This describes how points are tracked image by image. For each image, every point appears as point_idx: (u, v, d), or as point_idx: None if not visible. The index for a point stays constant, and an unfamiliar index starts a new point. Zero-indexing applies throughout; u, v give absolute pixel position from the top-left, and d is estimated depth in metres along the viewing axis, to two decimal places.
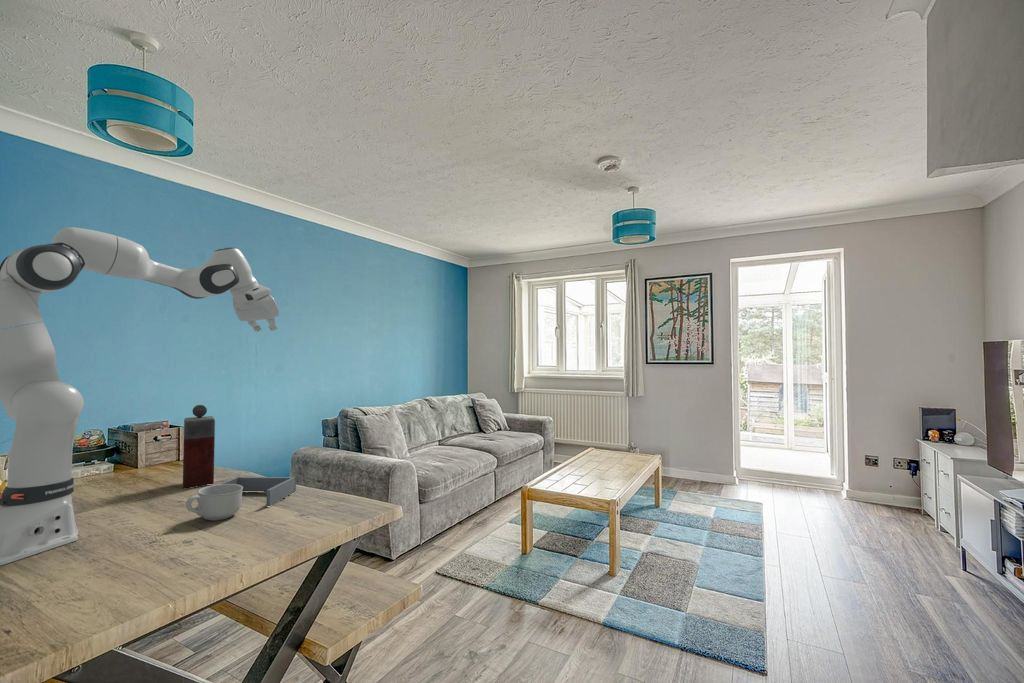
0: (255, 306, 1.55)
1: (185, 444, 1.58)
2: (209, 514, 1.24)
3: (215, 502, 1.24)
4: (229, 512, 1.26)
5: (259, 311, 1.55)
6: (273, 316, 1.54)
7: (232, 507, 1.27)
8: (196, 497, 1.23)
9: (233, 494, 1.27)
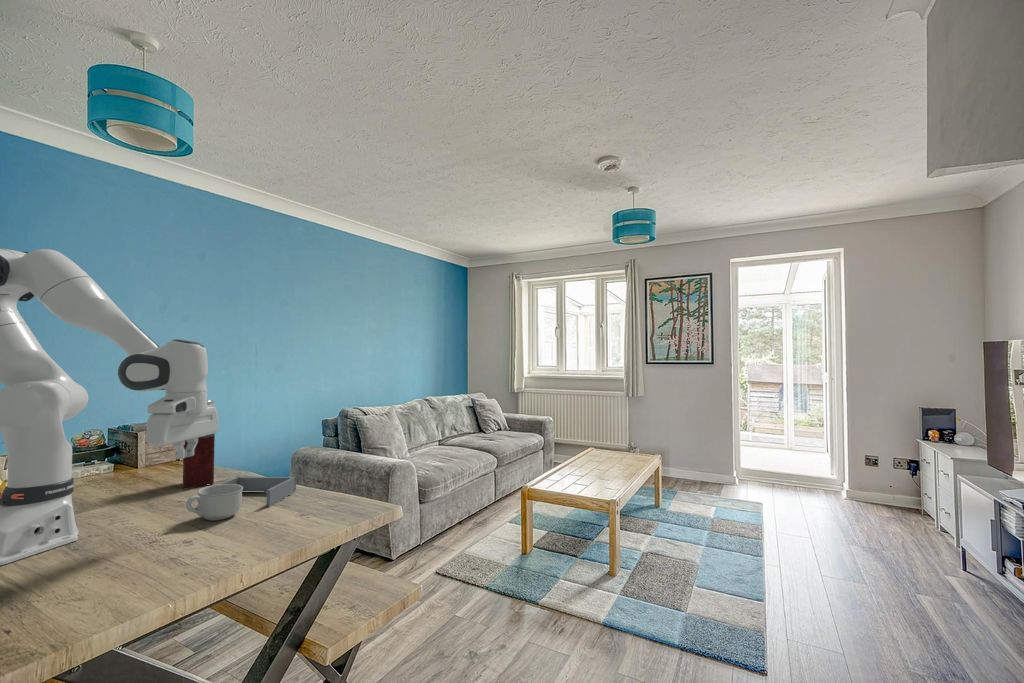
0: None
1: (185, 444, 1.58)
2: (209, 514, 1.24)
3: (215, 502, 1.24)
4: (229, 512, 1.26)
5: None
6: (150, 443, 1.08)
7: (232, 507, 1.27)
8: (196, 497, 1.23)
9: (233, 494, 1.27)
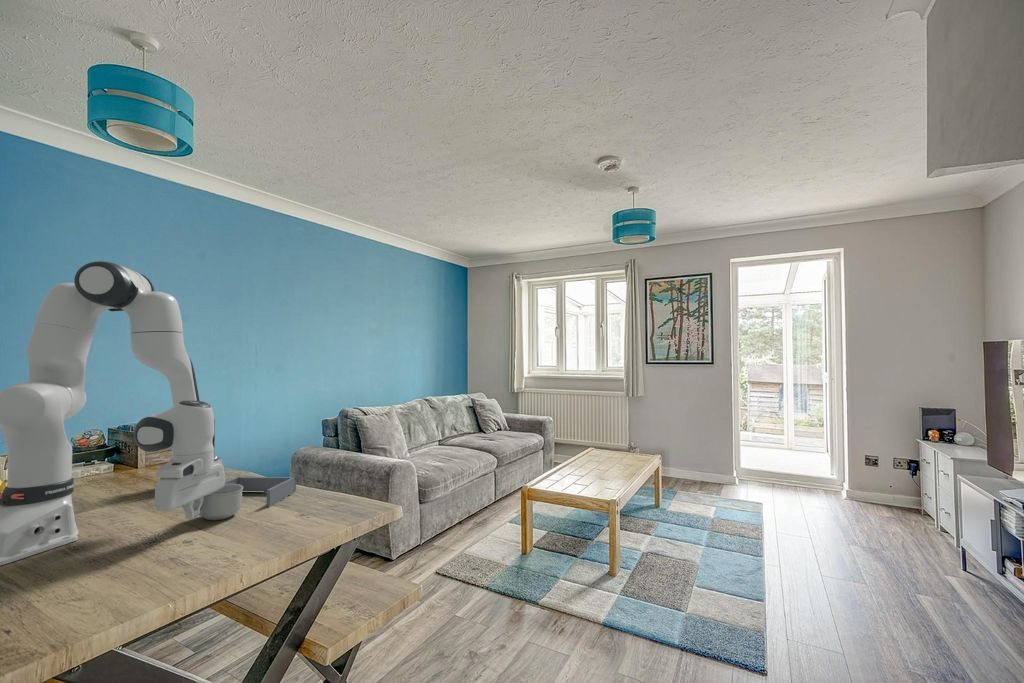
0: None
1: None
2: (209, 514, 1.24)
3: (215, 502, 1.24)
4: (229, 512, 1.26)
5: None
6: (158, 508, 1.10)
7: (232, 507, 1.27)
8: None
9: (233, 494, 1.27)
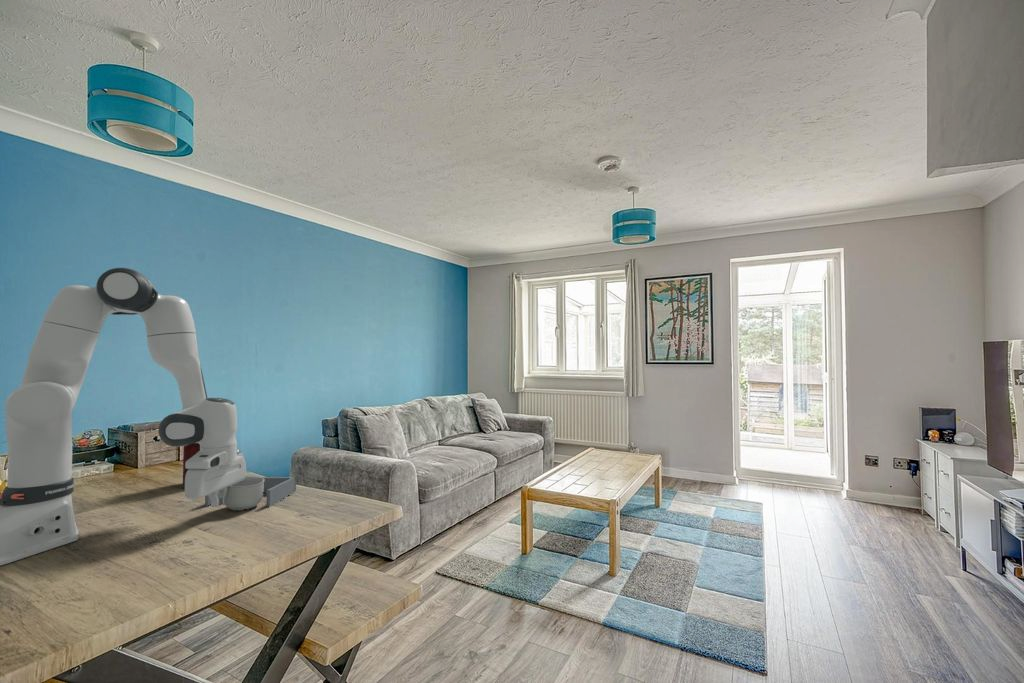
0: None
1: None
2: (227, 504, 1.32)
3: (231, 494, 1.32)
4: (245, 504, 1.33)
5: None
6: (188, 497, 1.19)
7: (248, 499, 1.33)
8: None
9: (248, 487, 1.33)
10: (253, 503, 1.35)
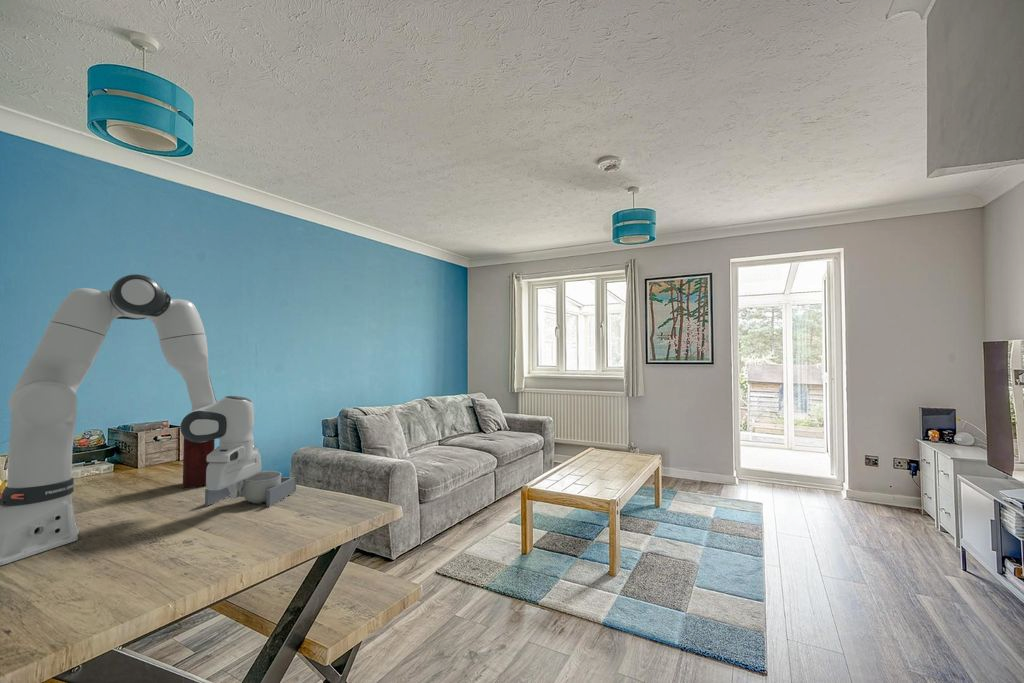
0: None
1: (185, 444, 1.58)
2: (244, 496, 1.40)
3: (246, 487, 1.39)
4: (257, 498, 1.39)
5: None
6: (209, 488, 1.27)
7: (260, 494, 1.39)
8: None
9: (260, 482, 1.39)
10: (266, 498, 1.40)
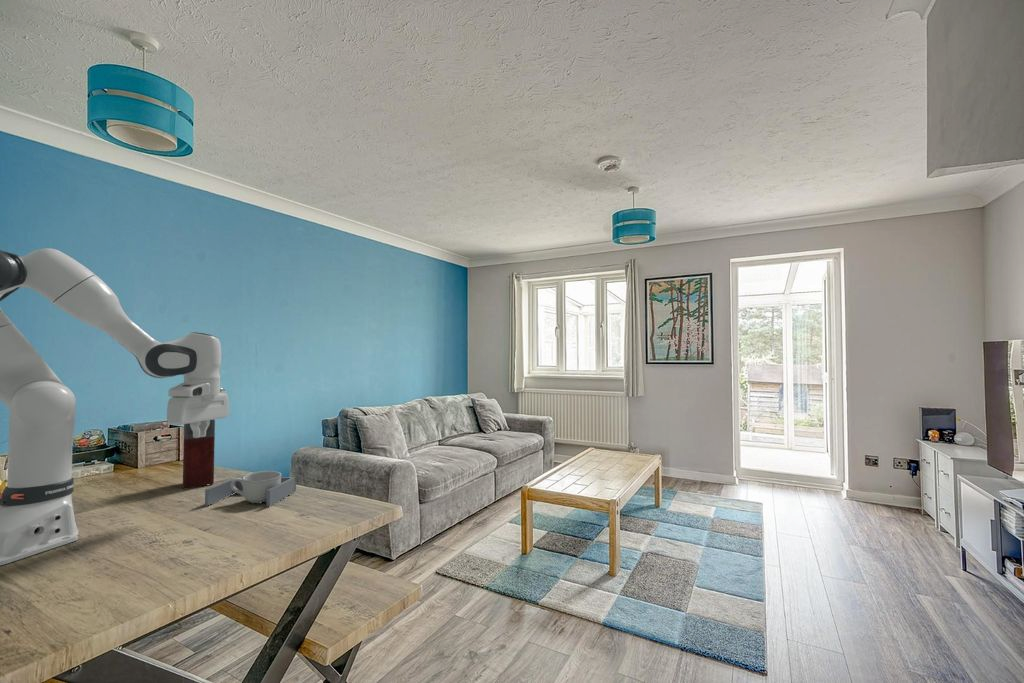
0: None
1: (185, 444, 1.58)
2: (244, 496, 1.40)
3: (246, 487, 1.39)
4: (257, 498, 1.39)
5: None
6: (170, 422, 1.23)
7: (260, 494, 1.39)
8: (237, 479, 1.41)
9: (260, 482, 1.39)
10: (266, 498, 1.40)
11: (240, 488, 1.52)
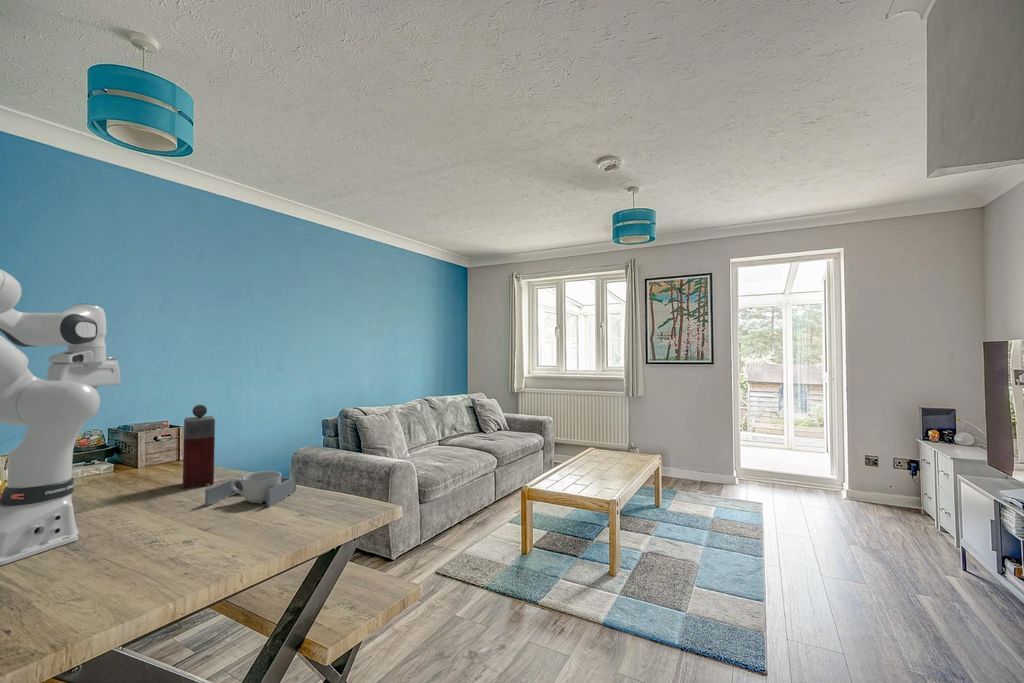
0: None
1: (185, 444, 1.58)
2: (244, 496, 1.40)
3: (246, 487, 1.39)
4: (257, 498, 1.39)
5: None
6: None
7: (260, 494, 1.39)
8: (237, 479, 1.41)
9: (260, 482, 1.39)
10: (266, 498, 1.40)
11: (240, 488, 1.52)
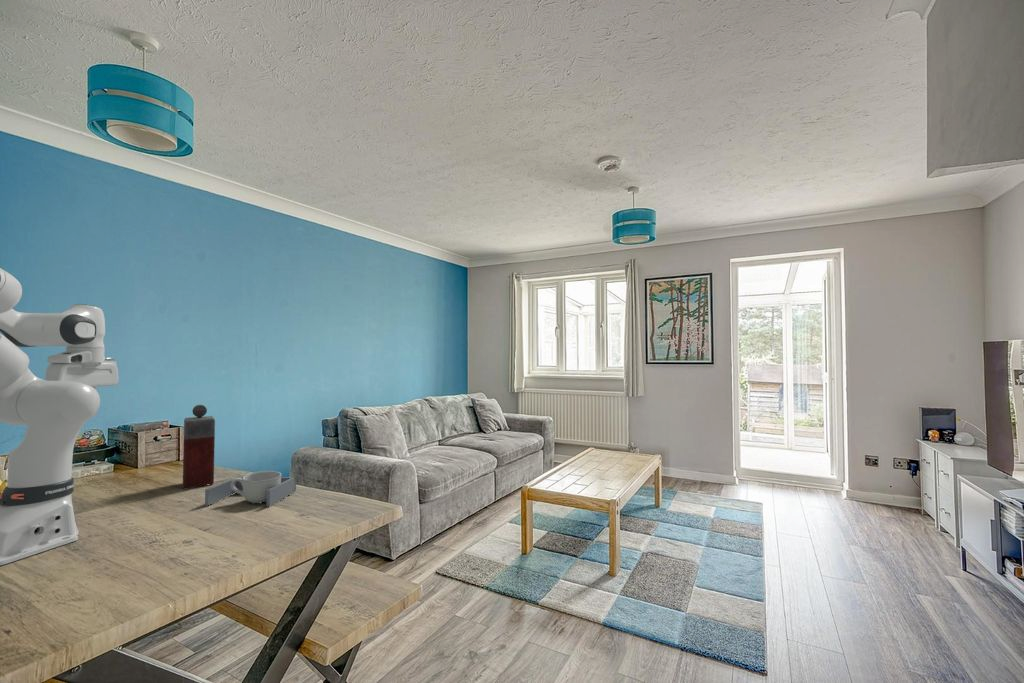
0: None
1: (185, 444, 1.58)
2: (244, 496, 1.40)
3: (246, 487, 1.39)
4: (257, 498, 1.39)
5: None
6: None
7: (260, 494, 1.39)
8: (237, 479, 1.41)
9: (260, 482, 1.39)
10: (266, 498, 1.40)
11: (240, 488, 1.52)
